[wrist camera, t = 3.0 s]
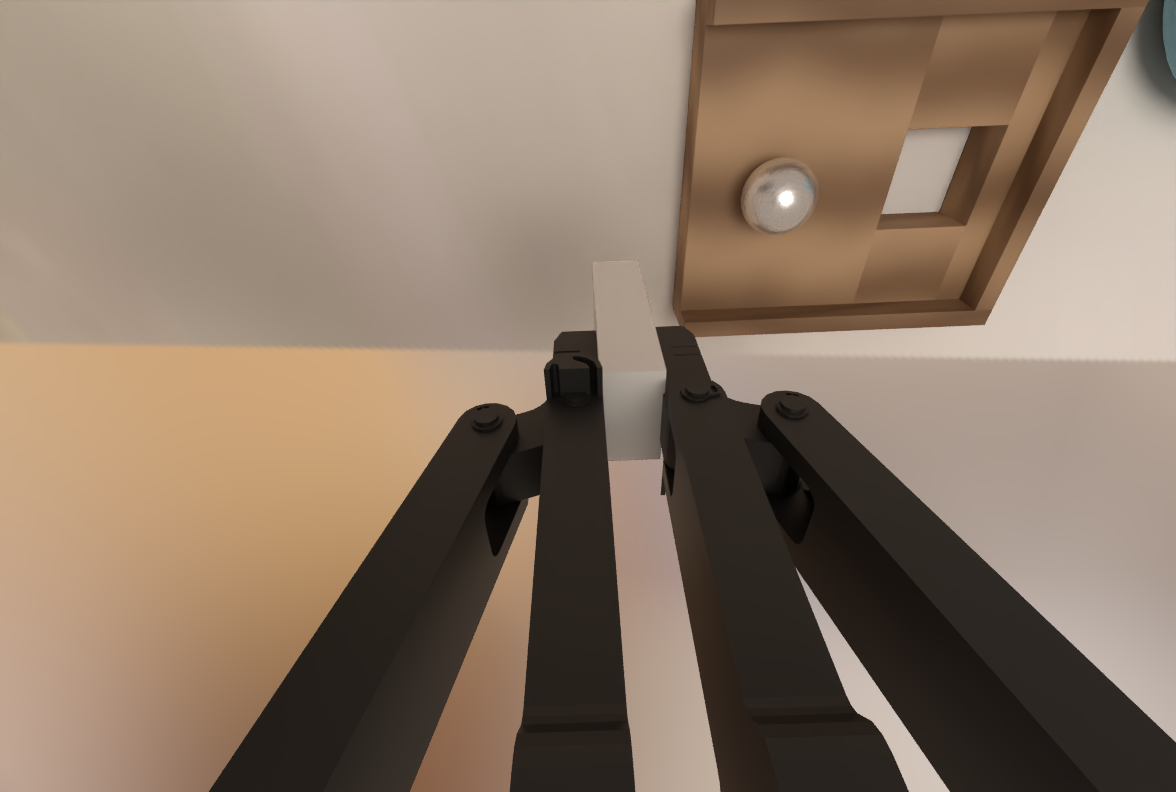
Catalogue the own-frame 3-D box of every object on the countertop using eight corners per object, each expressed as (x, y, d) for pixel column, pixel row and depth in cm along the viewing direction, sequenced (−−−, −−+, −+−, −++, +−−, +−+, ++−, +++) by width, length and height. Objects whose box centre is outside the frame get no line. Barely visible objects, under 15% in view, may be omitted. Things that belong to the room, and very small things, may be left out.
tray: (696, -3, 23) (716, -6, 20) (1080, -19, 23) (1161, -25, 20) (672, 306, 33) (683, 337, 30) (944, 295, 33) (984, 324, 30)
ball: (738, 151, 25) (759, 169, 22) (809, 148, 25) (840, 165, 22) (728, 223, 27) (746, 247, 24) (794, 220, 27) (820, 244, 24)
